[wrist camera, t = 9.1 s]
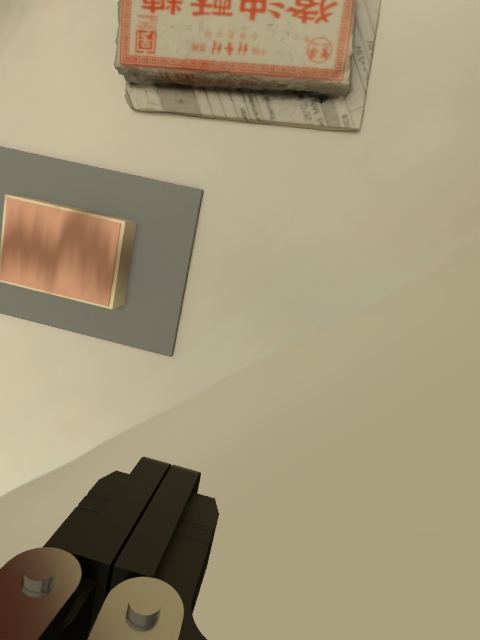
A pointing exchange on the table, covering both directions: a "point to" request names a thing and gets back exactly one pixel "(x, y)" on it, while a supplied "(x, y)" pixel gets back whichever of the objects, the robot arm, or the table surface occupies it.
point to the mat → (147, 256)
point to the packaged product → (249, 59)
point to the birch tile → (66, 251)
